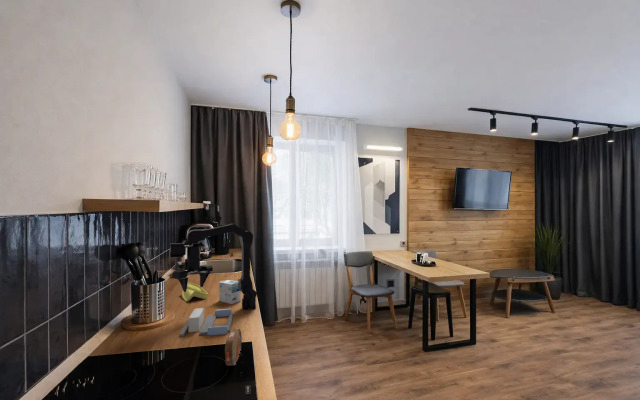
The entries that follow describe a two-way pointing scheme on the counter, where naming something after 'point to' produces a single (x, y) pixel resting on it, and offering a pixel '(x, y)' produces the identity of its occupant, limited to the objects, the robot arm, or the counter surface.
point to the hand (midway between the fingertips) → (193, 289)
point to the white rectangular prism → (196, 320)
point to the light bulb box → (229, 292)
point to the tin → (233, 347)
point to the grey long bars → (207, 325)
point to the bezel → (219, 329)
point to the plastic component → (193, 292)
